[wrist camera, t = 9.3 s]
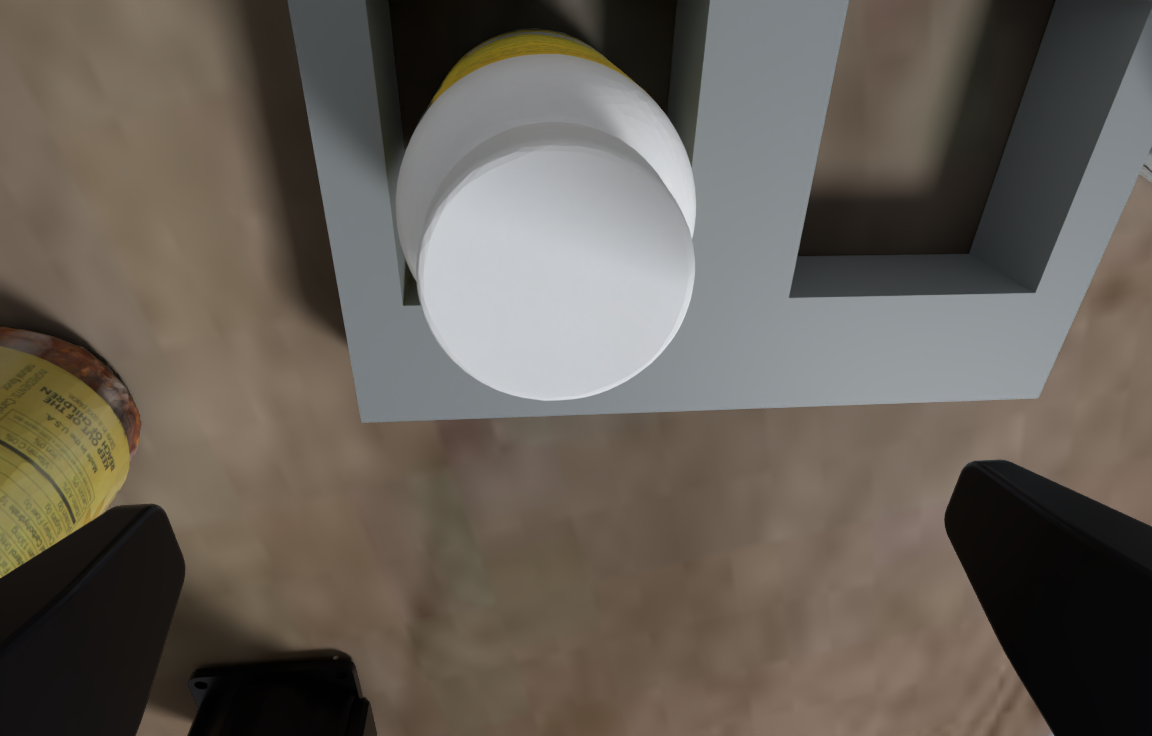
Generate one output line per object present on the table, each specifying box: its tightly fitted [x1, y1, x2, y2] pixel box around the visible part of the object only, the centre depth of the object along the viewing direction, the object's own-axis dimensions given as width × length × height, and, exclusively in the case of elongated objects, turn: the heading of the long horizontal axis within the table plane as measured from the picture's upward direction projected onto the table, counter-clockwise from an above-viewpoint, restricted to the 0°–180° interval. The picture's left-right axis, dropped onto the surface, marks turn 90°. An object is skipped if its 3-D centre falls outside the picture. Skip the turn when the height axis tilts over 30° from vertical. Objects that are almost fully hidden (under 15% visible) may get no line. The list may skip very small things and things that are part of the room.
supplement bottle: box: [396, 28, 696, 401], centre depth 13 cm, size 5×5×10 cm
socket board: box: [287, 0, 1152, 423], centre depth 17 cm, size 20×14×3 cm
